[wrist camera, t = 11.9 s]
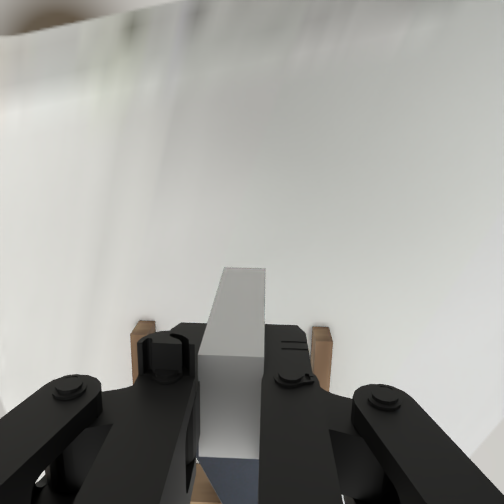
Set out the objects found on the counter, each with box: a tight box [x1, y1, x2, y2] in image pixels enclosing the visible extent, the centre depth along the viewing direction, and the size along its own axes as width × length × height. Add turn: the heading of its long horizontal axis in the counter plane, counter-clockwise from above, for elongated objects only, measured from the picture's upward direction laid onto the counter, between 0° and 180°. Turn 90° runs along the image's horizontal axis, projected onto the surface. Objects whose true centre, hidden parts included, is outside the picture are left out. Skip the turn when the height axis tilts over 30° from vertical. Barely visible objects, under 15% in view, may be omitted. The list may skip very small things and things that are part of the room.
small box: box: [196, 443, 259, 504], centre depth 41 cm, size 11×6×10 cm, turn 24°
